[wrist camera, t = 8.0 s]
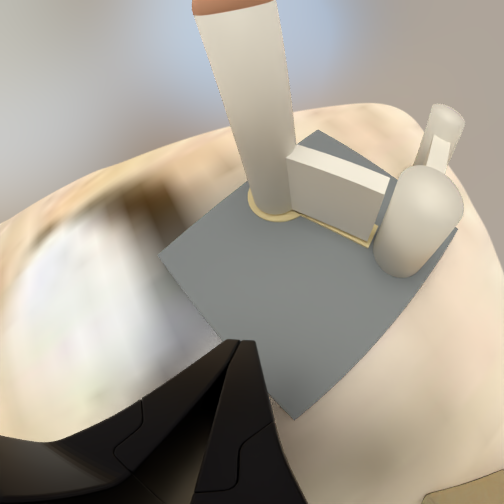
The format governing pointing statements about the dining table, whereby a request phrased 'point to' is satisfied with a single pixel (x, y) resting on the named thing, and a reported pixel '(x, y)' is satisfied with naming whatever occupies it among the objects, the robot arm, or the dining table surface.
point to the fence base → (422, 200)
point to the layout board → (293, 286)
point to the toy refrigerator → (472, 492)
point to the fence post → (279, 122)
